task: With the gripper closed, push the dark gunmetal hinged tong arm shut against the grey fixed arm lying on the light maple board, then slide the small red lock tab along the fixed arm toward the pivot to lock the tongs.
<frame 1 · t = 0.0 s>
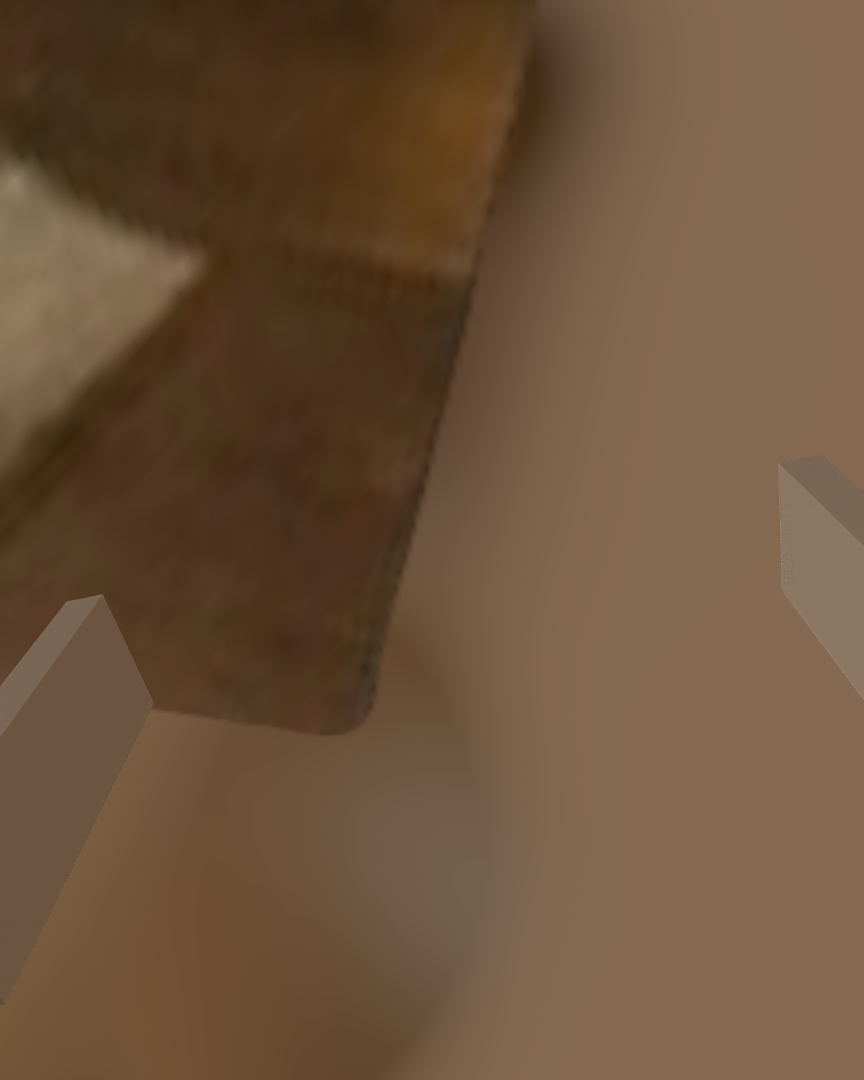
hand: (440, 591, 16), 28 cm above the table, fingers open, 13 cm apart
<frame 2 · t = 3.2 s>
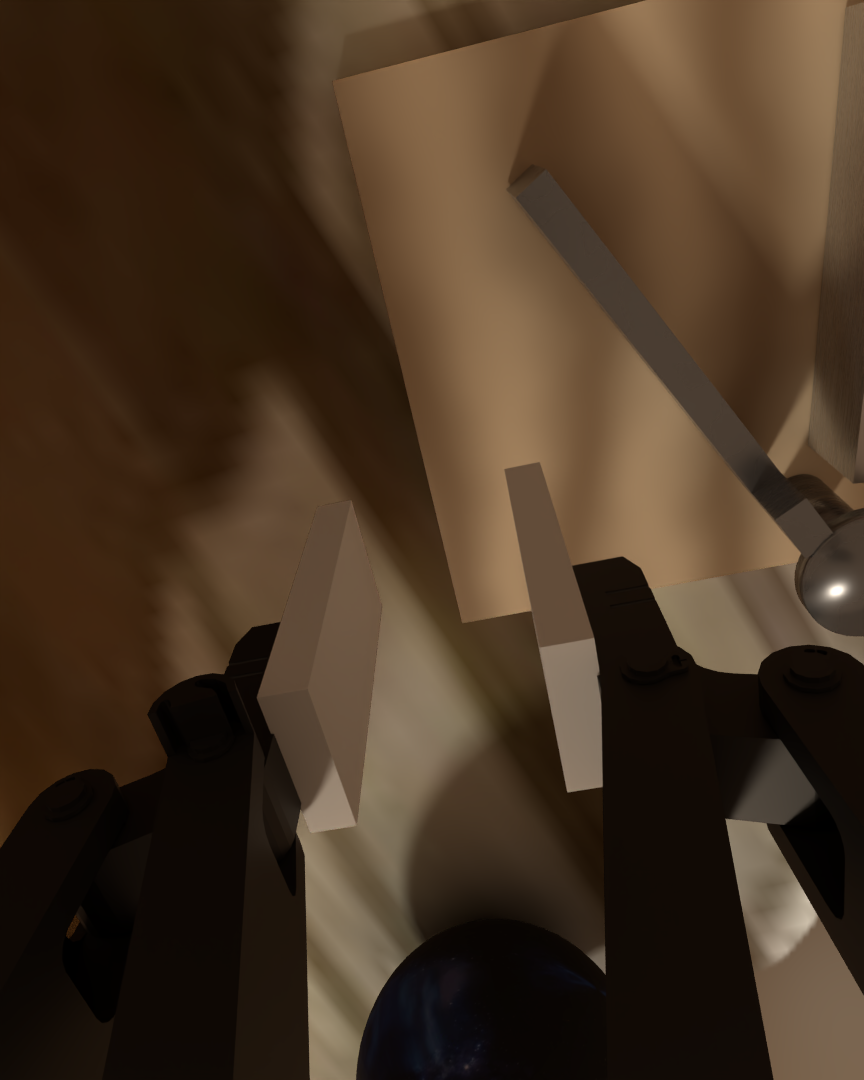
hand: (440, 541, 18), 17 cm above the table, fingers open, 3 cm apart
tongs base: (798, 500, 34), resting on board
board: (731, 315, 32), on the table
tong arm: (724, 394, 28), point 5 cm above the table, hinge at 35.0°
decorative sphere: (491, 945, 49), on the table
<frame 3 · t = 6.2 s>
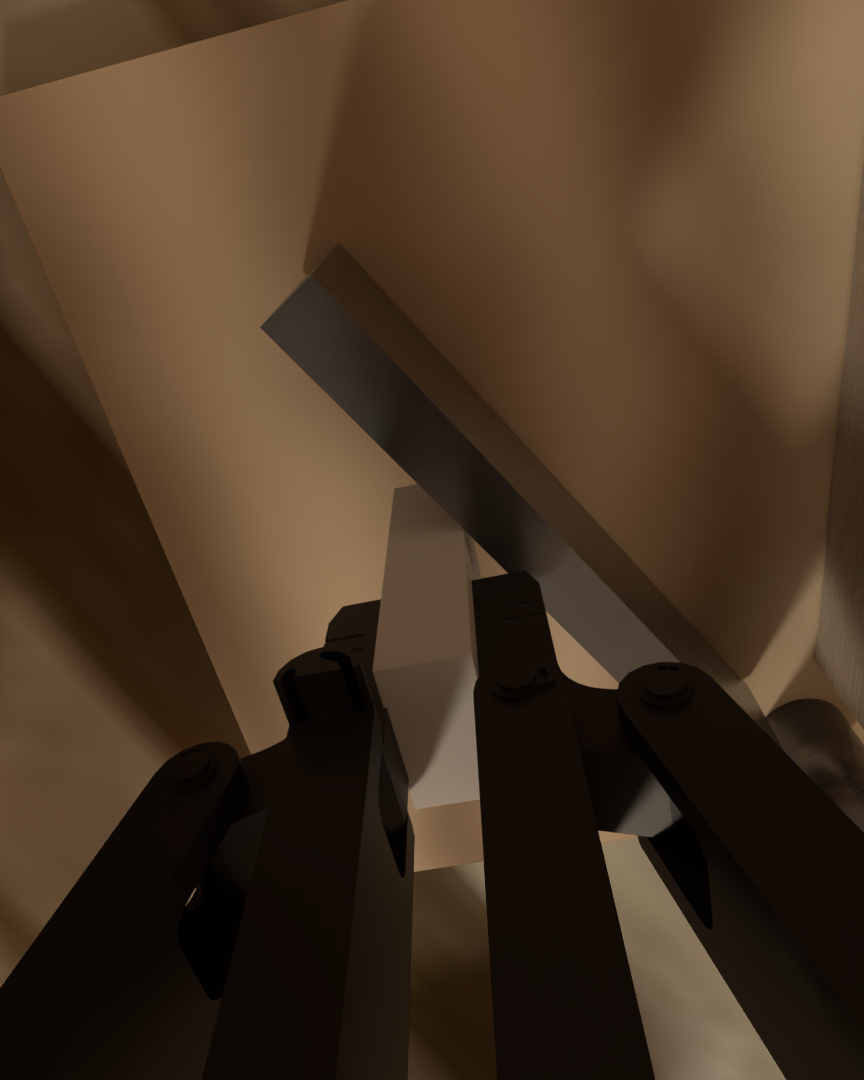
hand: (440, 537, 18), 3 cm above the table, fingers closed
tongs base: (800, 733, 22), resting on board
board: (692, 467, 20), on the table
tong arm: (673, 632, 17), point 5 cm above the table, hinge at 34.9°, touching gripper
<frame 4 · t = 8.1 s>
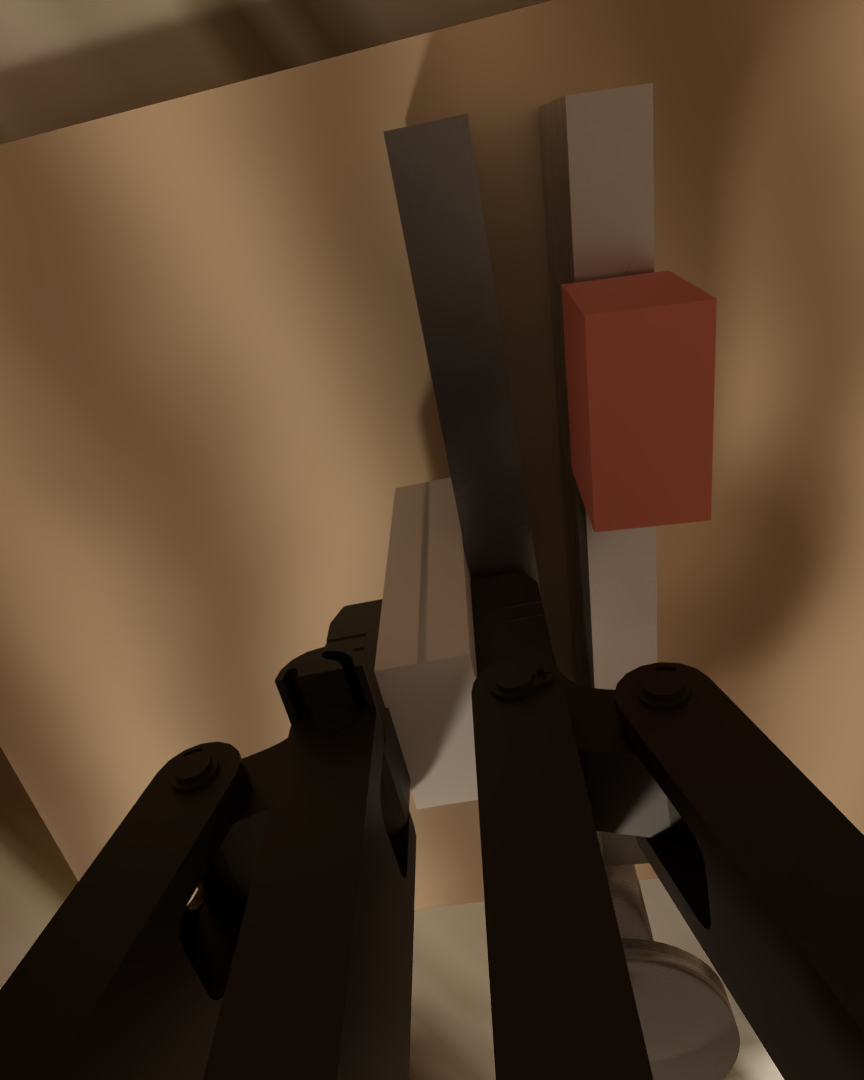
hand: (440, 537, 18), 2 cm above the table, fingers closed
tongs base: (576, 812, 22), resting on board
board: (447, 556, 20), on the table
tong arm: (558, 662, 16), point 5 cm above the table, hinge at 3.5°, touching gripper
lock tab: (633, 397, 12), point 7 cm above the table, slide at 0.0 cm
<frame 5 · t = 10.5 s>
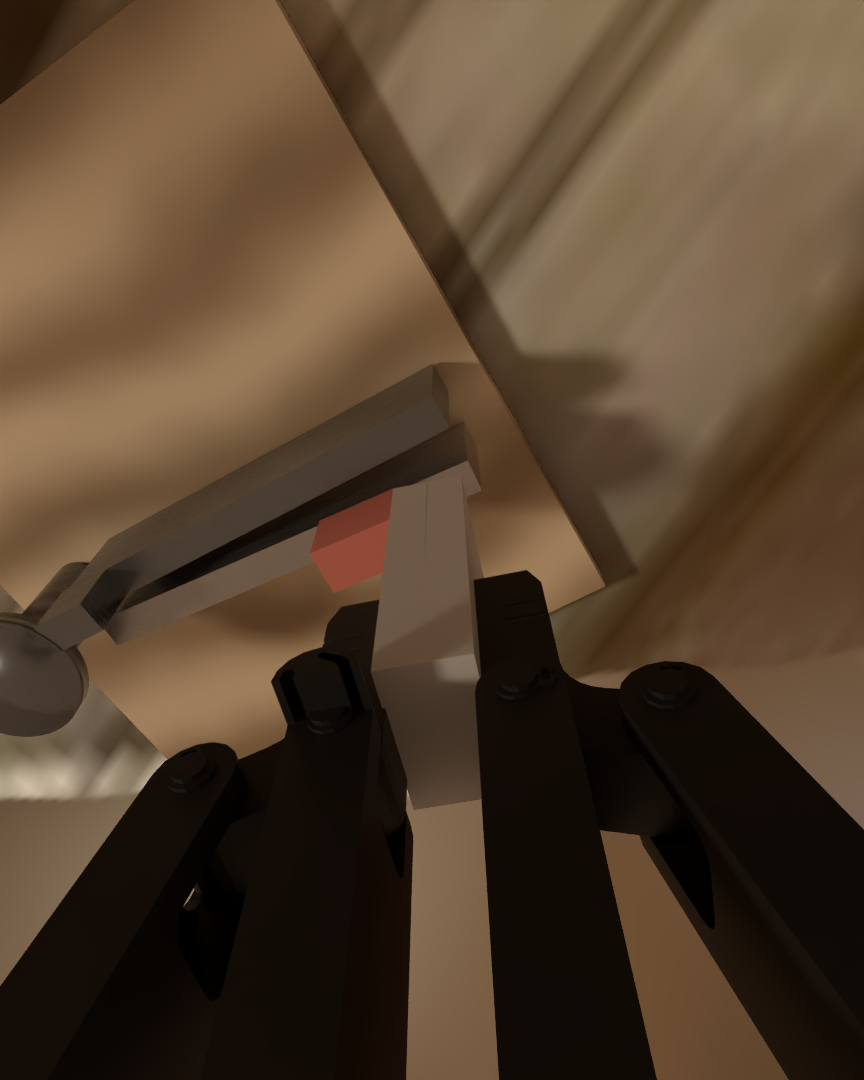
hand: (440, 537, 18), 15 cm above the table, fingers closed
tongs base: (84, 586, 34), resting on board
board: (213, 448, 32), on the table
tong arm: (209, 548, 29), point 5 cm above the table, hinge at 3.4°
lock tab: (366, 538, 27), point 7 cm above the table, slide at 0.0 cm
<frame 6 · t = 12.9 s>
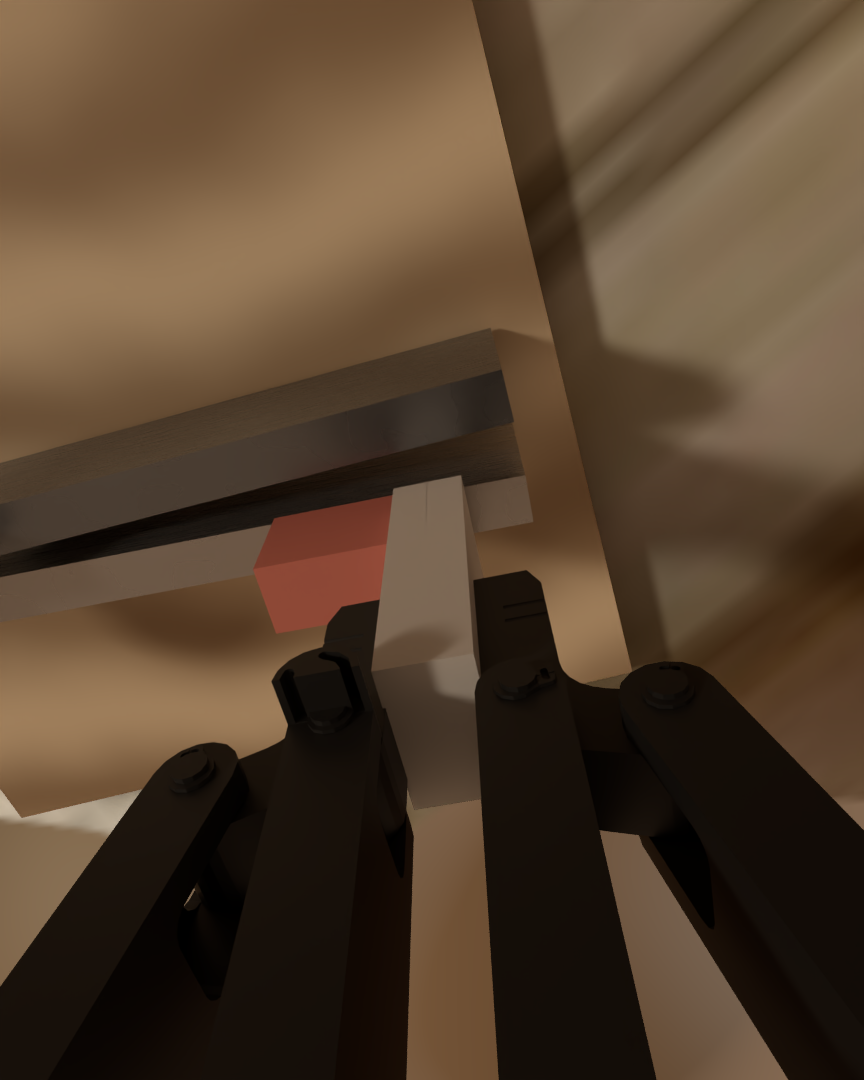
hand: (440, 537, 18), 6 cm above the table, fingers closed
board: (149, 377, 23), on the table
tong arm: (112, 520, 20), point 5 cm above the table, hinge at 3.4°
lock tab: (340, 561, 18), point 7 cm above the table, slide at 0.3 cm, touching gripper
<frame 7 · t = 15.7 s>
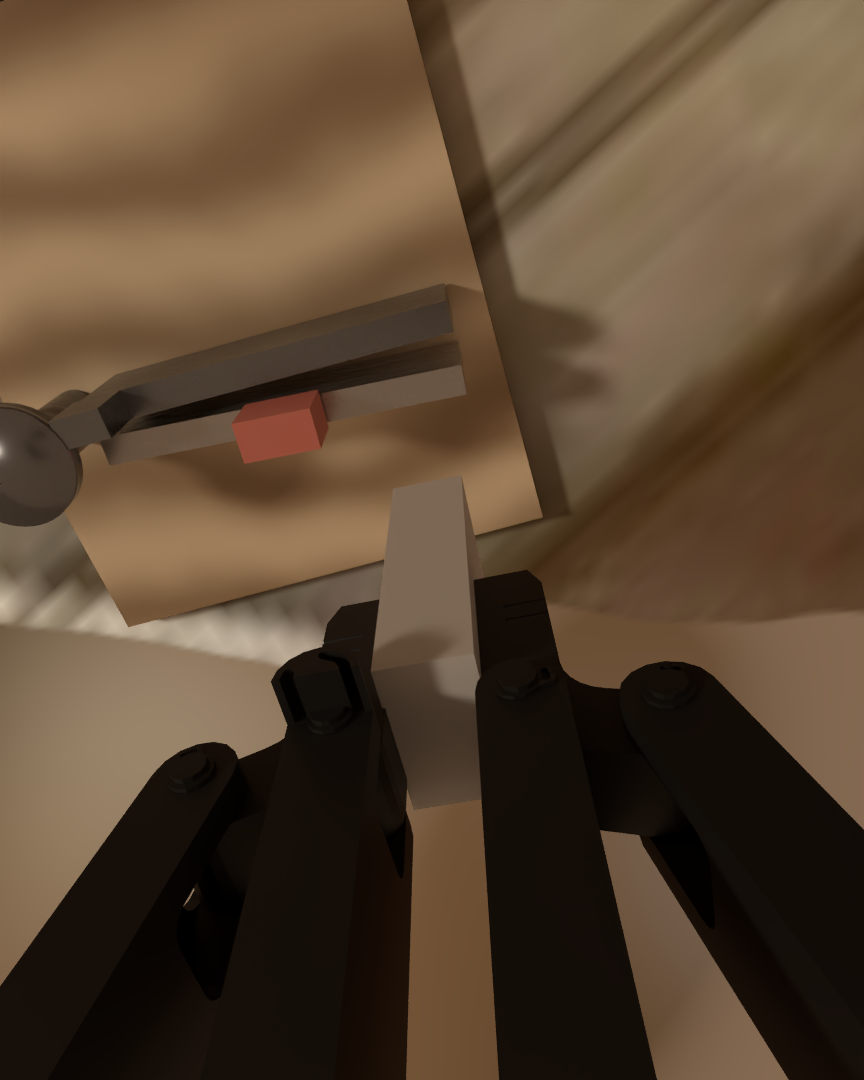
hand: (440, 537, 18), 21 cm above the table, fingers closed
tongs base: (79, 415, 37), resting on board
board: (230, 315, 36), on the table
tong arm: (216, 395, 33), point 5 cm above the table, hinge at 3.4°
lock tab: (281, 426, 31), point 7 cm above the table, slide at 3.2 cm
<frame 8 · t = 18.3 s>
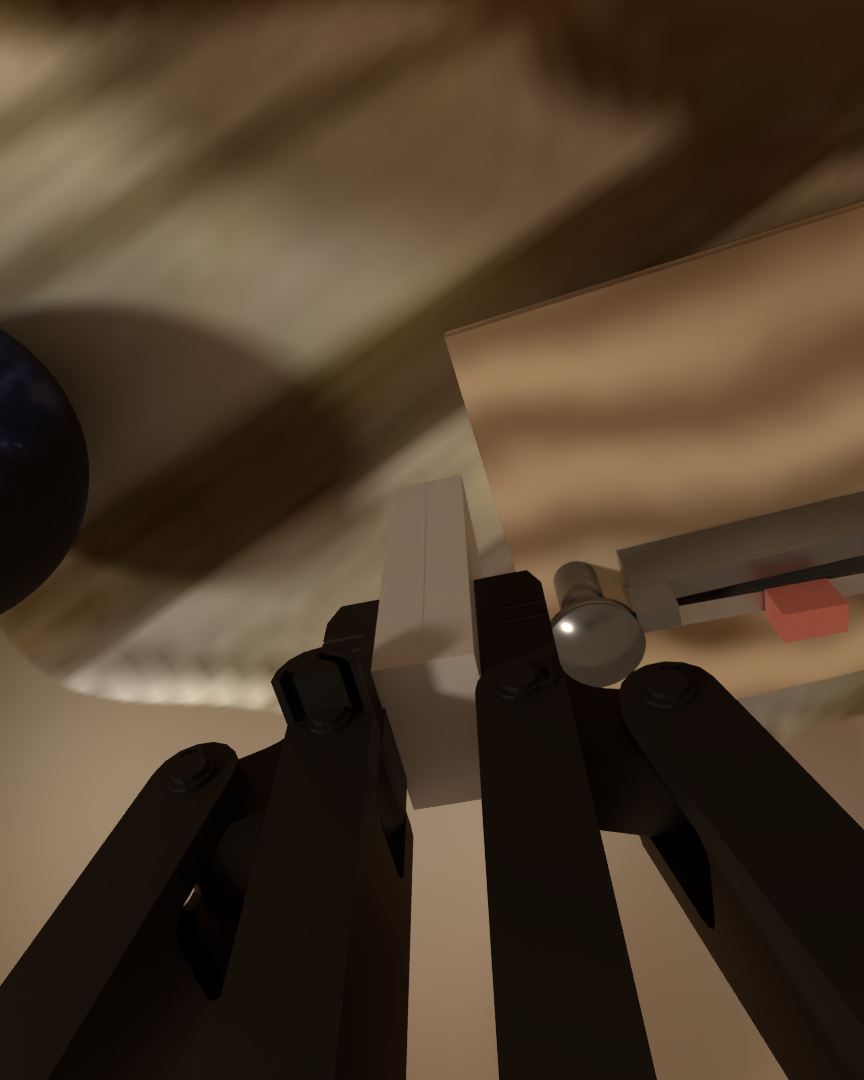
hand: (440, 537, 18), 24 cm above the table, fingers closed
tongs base: (575, 580, 45), resting on board
board: (707, 501, 44), on the table
tong arm: (731, 578, 41), point 5 cm above the table, hinge at 3.4°
lock tab: (805, 610, 39), point 7 cm above the table, slide at 3.2 cm
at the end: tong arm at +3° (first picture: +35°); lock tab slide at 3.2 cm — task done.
